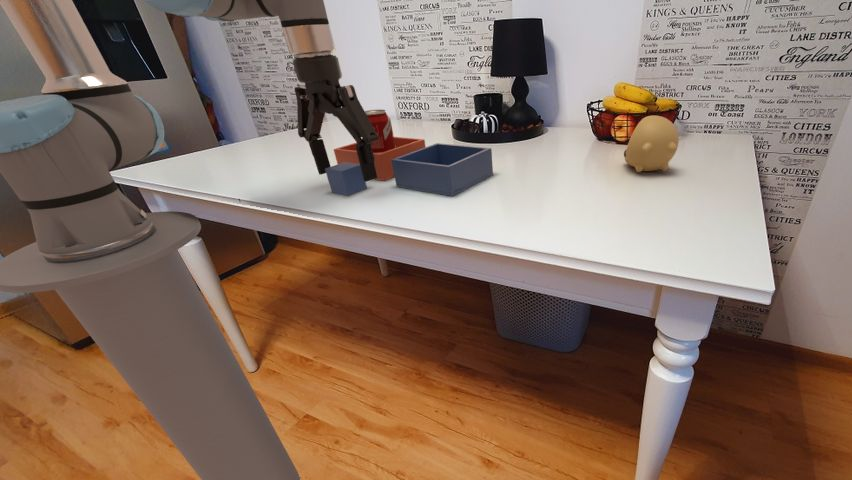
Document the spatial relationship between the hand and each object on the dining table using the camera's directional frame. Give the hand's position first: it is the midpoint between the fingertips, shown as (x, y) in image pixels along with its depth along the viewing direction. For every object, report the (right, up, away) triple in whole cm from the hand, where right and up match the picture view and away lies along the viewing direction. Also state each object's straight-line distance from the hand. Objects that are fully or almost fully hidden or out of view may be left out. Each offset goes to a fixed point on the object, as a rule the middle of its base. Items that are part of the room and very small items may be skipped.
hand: (347, 176), depth 80 cm
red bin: (+3, +6, +15) cm, 16 cm away
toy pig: (+61, +2, +3) cm, 62 cm away
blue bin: (+19, 0, +4) cm, 20 cm away
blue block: (0, -3, +2) cm, 3 cm away
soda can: (+3, +6, +14) cm, 16 cm away
